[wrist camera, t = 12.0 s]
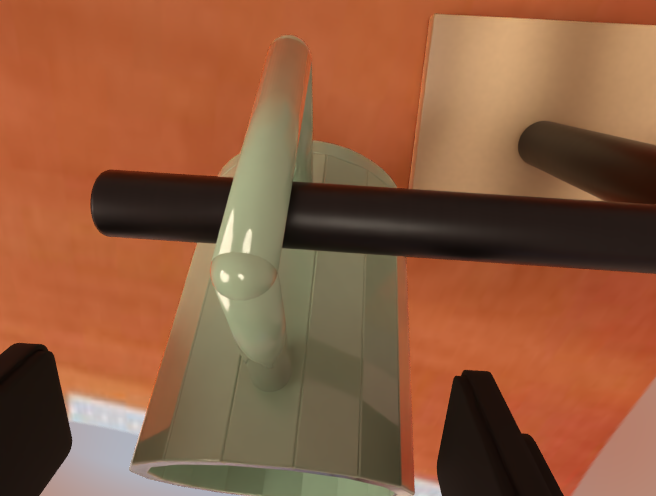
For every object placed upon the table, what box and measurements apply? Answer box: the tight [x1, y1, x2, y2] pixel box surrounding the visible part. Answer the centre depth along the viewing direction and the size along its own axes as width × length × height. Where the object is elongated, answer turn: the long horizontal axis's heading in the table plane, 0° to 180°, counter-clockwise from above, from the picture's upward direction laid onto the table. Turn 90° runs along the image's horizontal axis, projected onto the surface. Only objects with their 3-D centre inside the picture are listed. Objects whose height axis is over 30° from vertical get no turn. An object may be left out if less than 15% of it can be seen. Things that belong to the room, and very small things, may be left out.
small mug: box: [129, 34, 415, 496], centre depth 12 cm, size 11×7×9 cm
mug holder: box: [91, 14, 656, 274], centre depth 14 cm, size 19×10×15 cm, turn 87°
